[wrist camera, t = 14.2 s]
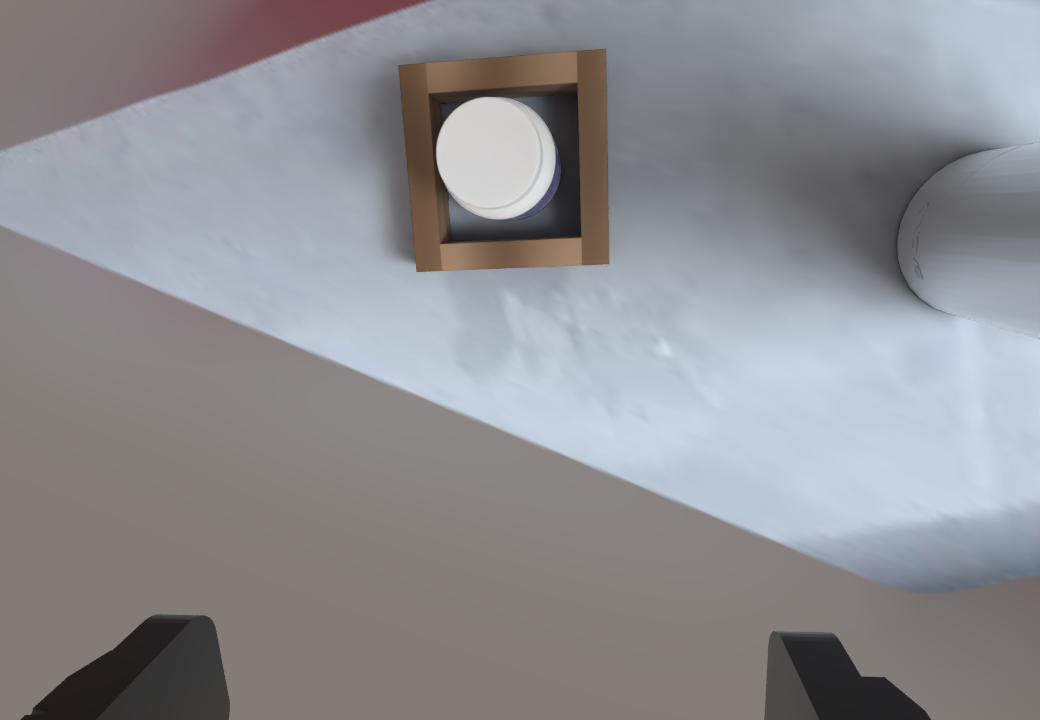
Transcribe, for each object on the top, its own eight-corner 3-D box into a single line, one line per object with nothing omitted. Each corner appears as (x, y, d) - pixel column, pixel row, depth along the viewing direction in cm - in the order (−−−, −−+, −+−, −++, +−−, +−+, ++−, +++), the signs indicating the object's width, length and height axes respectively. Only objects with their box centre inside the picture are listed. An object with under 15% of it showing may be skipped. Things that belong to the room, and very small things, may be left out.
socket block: (604, 62, 34) (605, 48, 31) (607, 260, 37) (609, 264, 34) (413, 77, 35) (398, 65, 32) (429, 267, 38) (416, 271, 35)
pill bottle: (577, 143, 35) (575, 116, 26) (538, 235, 37) (522, 242, 27) (487, 102, 35) (451, 61, 26) (451, 196, 37) (404, 190, 27)
